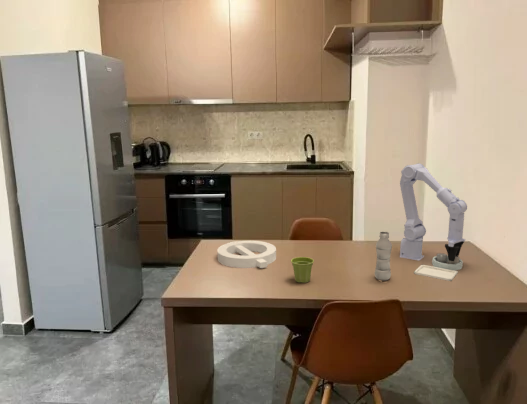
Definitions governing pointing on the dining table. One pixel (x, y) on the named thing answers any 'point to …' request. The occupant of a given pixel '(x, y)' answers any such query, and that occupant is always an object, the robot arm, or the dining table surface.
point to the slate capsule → (441, 258)
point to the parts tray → (436, 272)
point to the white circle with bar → (246, 254)
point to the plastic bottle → (383, 257)
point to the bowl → (447, 266)
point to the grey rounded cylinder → (454, 260)
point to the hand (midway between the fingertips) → (453, 258)
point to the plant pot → (302, 268)
